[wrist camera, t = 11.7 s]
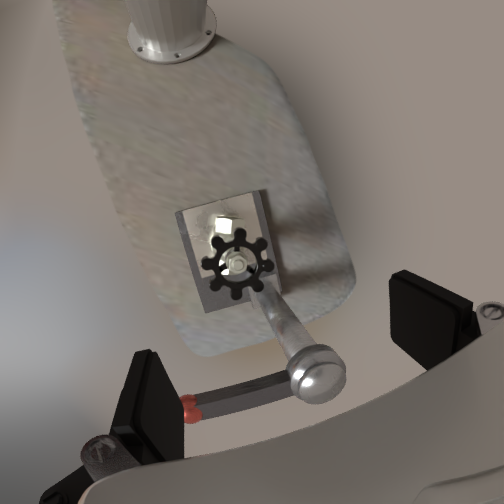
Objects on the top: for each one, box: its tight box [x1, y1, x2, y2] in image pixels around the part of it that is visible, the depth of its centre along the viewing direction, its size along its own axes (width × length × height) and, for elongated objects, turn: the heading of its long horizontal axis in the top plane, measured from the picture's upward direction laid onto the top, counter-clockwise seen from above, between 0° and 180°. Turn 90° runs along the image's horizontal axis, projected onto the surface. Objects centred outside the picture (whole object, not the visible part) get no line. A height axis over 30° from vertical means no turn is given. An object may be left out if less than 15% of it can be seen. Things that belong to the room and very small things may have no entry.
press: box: [175, 191, 346, 404], centre depth 28 cm, size 15×11×23 cm
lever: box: [179, 344, 346, 424], centre depth 20 cm, size 13×4×2 cm, turn 104°
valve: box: [201, 216, 275, 300], centre depth 32 cm, size 7×7×12 cm
